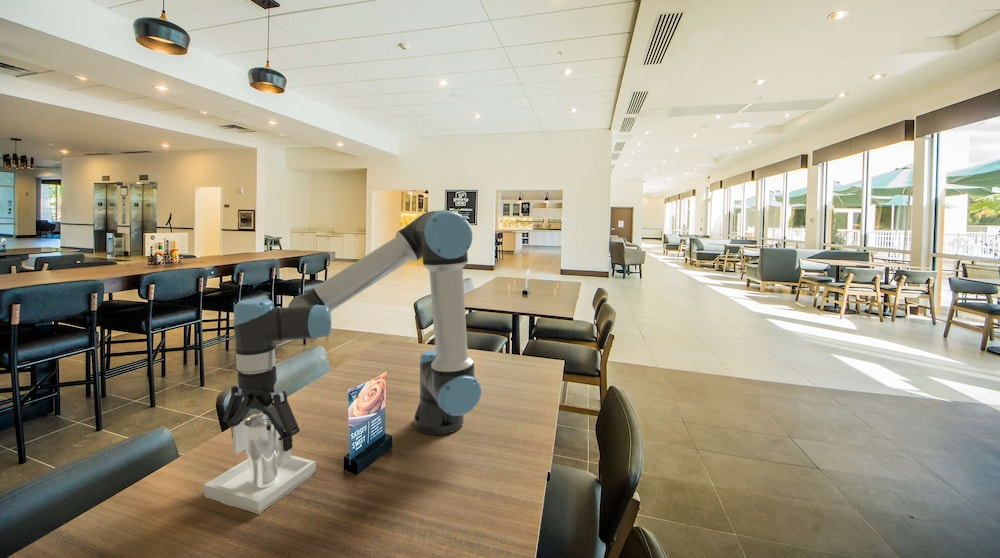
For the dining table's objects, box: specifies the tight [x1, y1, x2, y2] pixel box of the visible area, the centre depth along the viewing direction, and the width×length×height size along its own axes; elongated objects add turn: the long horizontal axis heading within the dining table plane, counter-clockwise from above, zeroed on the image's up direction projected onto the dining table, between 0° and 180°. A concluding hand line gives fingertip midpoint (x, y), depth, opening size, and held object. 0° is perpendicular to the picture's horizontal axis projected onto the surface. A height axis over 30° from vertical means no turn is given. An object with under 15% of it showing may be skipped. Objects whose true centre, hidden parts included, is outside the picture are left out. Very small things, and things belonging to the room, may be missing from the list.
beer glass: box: [243, 413, 280, 489], centre depth 95 cm, size 7×7×15 cm
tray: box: [202, 453, 317, 513], centre depth 96 cm, size 16×16×3 cm
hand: (262, 456), depth 96 cm, fingers open, 13 cm apart
